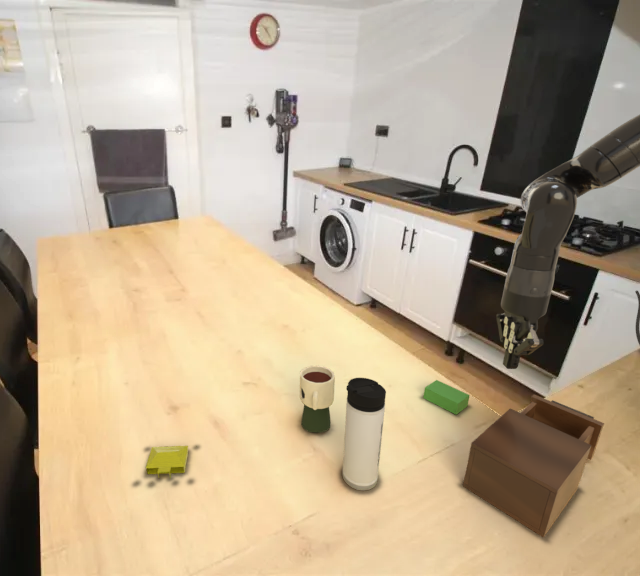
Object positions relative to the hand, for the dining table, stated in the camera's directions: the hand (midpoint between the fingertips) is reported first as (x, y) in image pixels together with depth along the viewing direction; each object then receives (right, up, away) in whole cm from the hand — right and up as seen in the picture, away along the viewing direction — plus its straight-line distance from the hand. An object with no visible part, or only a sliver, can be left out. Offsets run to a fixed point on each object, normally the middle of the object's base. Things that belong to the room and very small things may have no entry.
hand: (509, 366), depth 84 cm
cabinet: (-6, -19, -12) cm, 23 cm away
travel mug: (-33, -19, -9) cm, 39 cm away
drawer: (+4, -15, -5) cm, 17 cm away
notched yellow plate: (-69, -18, -5) cm, 71 cm away
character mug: (-39, -14, +5) cm, 42 cm away
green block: (-8, -10, +11) cm, 17 cm away
